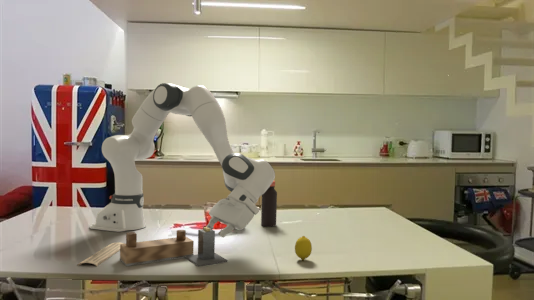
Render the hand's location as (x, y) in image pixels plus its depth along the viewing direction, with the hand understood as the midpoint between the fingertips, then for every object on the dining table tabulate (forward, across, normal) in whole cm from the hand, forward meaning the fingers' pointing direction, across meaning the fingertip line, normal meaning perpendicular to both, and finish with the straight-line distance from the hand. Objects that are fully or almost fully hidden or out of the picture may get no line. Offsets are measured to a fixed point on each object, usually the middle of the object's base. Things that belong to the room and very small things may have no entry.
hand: (214, 232), depth 138 cm
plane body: (+17, -10, -5) cm, 20 cm away
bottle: (-24, -34, +37) cm, 55 cm away
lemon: (-12, +15, +24) cm, 31 cm away
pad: (+8, 0, +4) cm, 9 cm away
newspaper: (+28, -21, -14) cm, 38 cm away
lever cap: (+8, 0, +4) cm, 8 cm away
